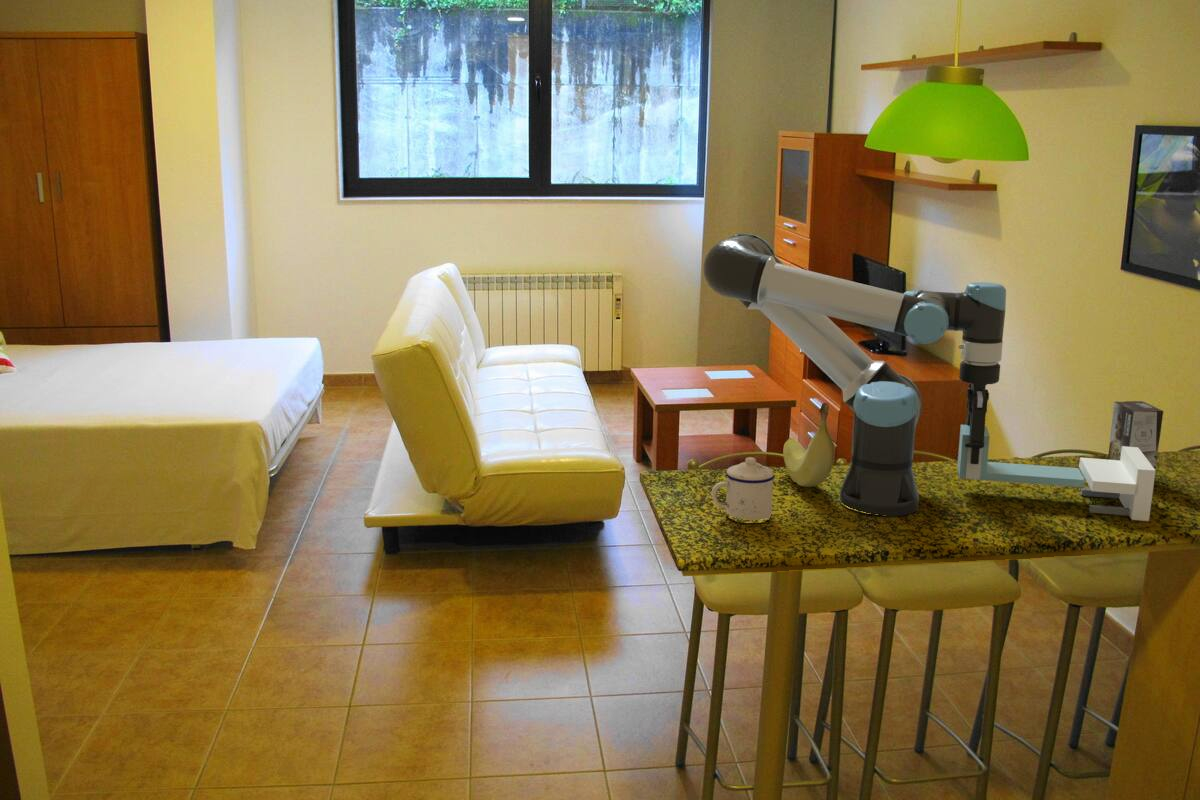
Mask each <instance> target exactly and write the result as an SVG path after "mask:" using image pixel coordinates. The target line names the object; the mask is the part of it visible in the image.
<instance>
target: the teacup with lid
mask: <svg viewBox="0 0 1200 800" xmlns="http://www.w3.org/2000/svg"><path fill="white" fill-rule="evenodd" d="M725 476H726V481H720V482H717V483H716V484H714V486H713V487H712V489H711V497H712V501H713V503H715V505H716V506H718V507H720V508H723V509H725V513H726V512H727V513H728V514H729V515H731V516H733V517H737V518H741V519H746V520H760V519H765V518H768V517H769V516H771V514H772V512H773V511H772V510H773V492H774V491H773V489H774V479H775V477H776V476H775V472H774V470H772V469H771V468H770V467H768V466H765V465H763V464H761V463H759V462H757V459H756V458H755V457H752V456H747V457H746V458H745V461H742V462H740V463H739V464H735V465H732V466H729V467H728V468H727V470H726V472H725ZM723 487H726V496H725V497H726V500H725V502H720V501H719V500H718V498H717V492H718V490H719V489H720V488H723ZM772 515H773V514H772ZM771 517H772V516H771Z"/></svg>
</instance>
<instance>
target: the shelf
mask: <svg viewBox="0 0 1200 800" xmlns="http://www.w3.org/2000/svg"><path fill="white" fill-rule="evenodd" d="M1078 469H1079V470H1080V472H1081V474H1082V476H1083V478H1084V480H1085V481H1086V483H1087V485H1088V486H1089V488H1085V487H1080V496H1081V495H1083V496H1082V497H1095V498H1106V499H1117V498H1118V499H1119V500H1120V503H1121V504H1122V506H1113V505H1111V506H1110V505H1100V504H1099V505H1098V504H1089V505H1088V507H1089V508H1088V512H1089V513H1094V514H1103V515H1106V514H1107V515H1115V516H1127V517H1128V516H1129V518H1130V519H1131V521H1141V522H1142V521H1144V522H1149V521H1150V517H1151V516H1150V515H1151V507H1152V500H1153V493H1154V486H1155V485H1154V484H1155V478H1156V471H1157V470H1155V469H1154V468H1153V466H1152V465H1151V464H1150V462H1149V461H1148V460H1147V458H1146V457H1145V456H1144V455H1143V453H1142V452H1141V451H1140V449H1139V448H1138V447H1126V446H1122V449H1121V457H1120V460H1108V458H1107V459H1105V458H1104V459H1103V458H1093V457H1092V458H1091V457H1080V458H1079V464H1078Z"/></svg>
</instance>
